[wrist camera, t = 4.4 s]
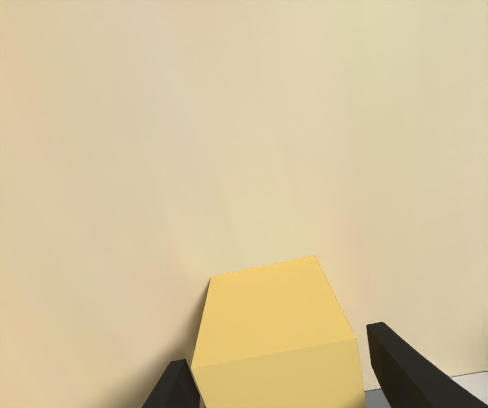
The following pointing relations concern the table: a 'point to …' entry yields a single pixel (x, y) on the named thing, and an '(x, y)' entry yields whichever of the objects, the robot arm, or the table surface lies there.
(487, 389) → the sorting board
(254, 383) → the ochre block
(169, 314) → the table surface
